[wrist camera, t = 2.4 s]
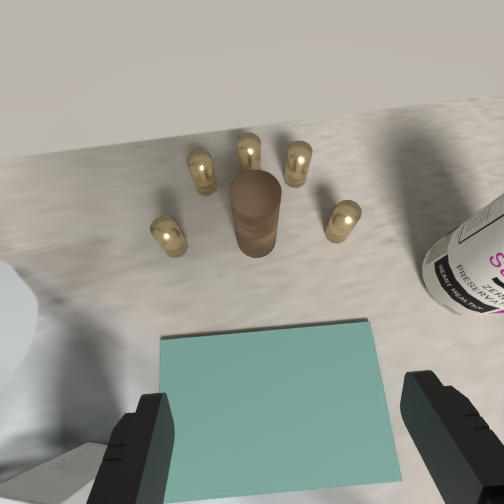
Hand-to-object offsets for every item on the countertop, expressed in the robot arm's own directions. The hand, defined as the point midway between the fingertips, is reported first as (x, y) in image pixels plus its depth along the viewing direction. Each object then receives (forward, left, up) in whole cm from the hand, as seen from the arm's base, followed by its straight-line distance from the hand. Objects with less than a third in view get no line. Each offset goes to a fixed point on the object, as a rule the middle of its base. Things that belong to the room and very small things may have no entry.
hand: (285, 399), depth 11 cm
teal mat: (0, -2, -20) cm, 21 cm away
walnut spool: (0, +14, -20) cm, 25 cm away
